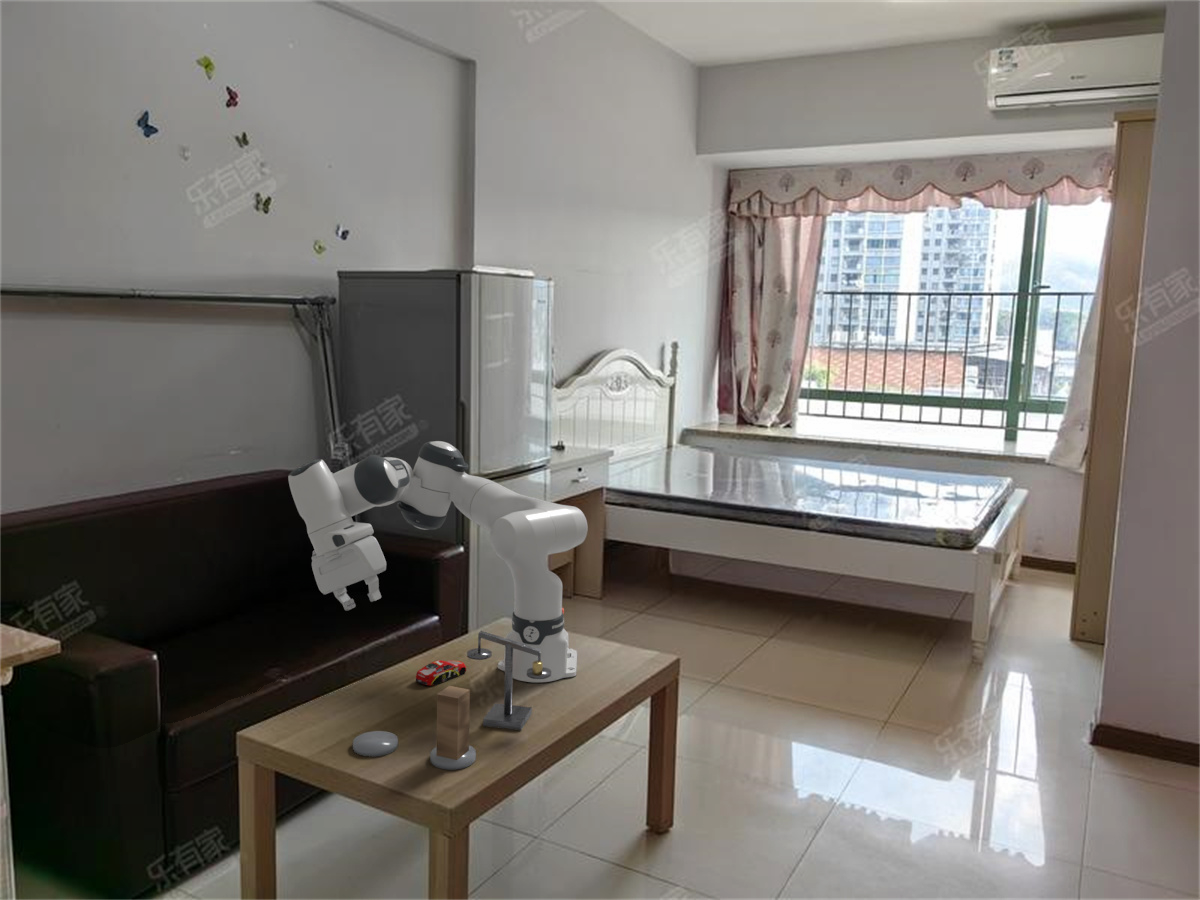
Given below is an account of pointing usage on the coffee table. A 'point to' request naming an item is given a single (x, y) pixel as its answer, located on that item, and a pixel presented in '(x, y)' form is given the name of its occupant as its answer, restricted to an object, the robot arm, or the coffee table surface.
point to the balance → (509, 682)
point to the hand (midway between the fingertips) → (363, 604)
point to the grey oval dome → (375, 743)
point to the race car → (440, 672)
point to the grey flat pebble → (451, 763)
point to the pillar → (453, 722)
